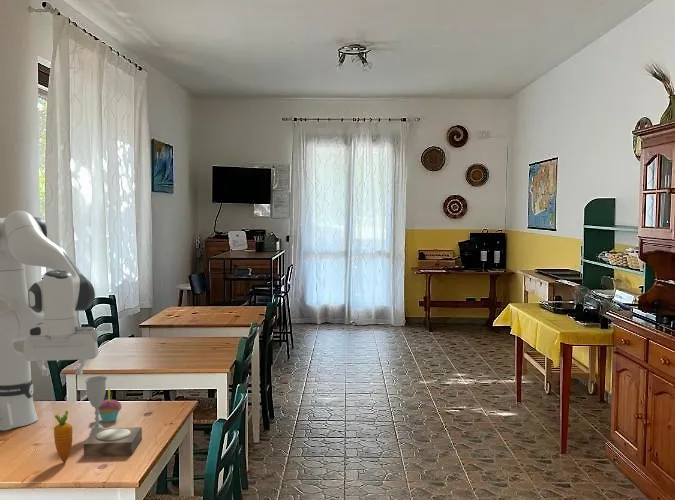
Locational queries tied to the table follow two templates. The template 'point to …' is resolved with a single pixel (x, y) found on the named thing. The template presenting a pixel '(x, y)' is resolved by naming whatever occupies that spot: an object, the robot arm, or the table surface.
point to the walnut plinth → (113, 442)
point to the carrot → (63, 437)
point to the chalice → (96, 396)
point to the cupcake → (109, 409)
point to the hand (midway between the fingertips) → (62, 375)
